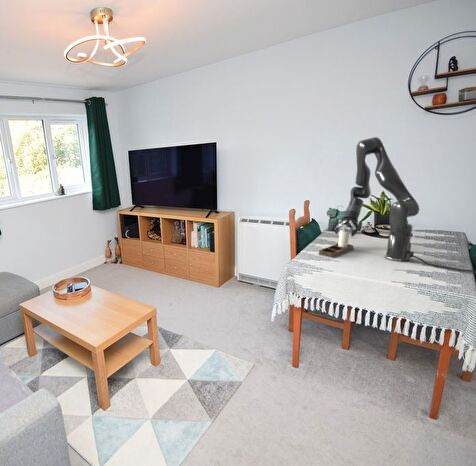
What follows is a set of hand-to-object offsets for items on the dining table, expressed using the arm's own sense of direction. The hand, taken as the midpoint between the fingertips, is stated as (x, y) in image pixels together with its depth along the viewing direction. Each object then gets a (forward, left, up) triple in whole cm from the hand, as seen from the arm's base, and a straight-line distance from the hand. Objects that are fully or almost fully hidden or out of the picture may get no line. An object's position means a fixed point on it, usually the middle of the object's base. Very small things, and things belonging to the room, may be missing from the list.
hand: (343, 234), depth 193 cm
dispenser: (0, 0, -10) cm, 10 cm away
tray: (0, +7, -10) cm, 12 cm away
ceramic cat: (+21, -39, -10) cm, 45 cm away
